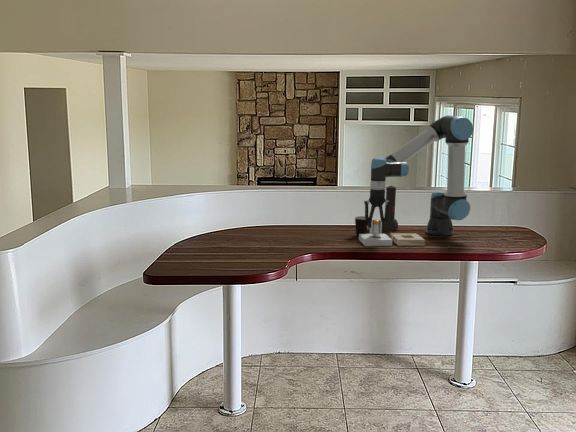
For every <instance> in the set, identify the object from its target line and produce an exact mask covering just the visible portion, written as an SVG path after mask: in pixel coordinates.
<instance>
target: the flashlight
mask: <svg viewBox="0 0 576 432" xmlns="http://www.w3.org/2000/svg"><path fill="white" fill-rule="evenodd" d="M396 193H397V188H396V187H395V186H393V185H388V186H387V187H385V199H386V200H387V201H390V205H389V211H388V220H385V221H384V227H383V228H382V231H388V232H389V231H392V232H394V231H398V230H399V223H398V221H397V219H395V214H396V212H395V211H396V197H397V196H396Z"/></svg>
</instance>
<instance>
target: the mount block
mask: <svg viewBox="0 0 576 432" xmlns="http://www.w3.org/2000/svg"><path fill="white" fill-rule="evenodd" d="M358 241H360V242H361V243H362V244H363V246H364V247H390V246H393V241H392V239H391V238H390V236H388V234H386V233H382V234H380V236H379V238H372V234H370V233H369V234H359V237H358Z"/></svg>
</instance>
